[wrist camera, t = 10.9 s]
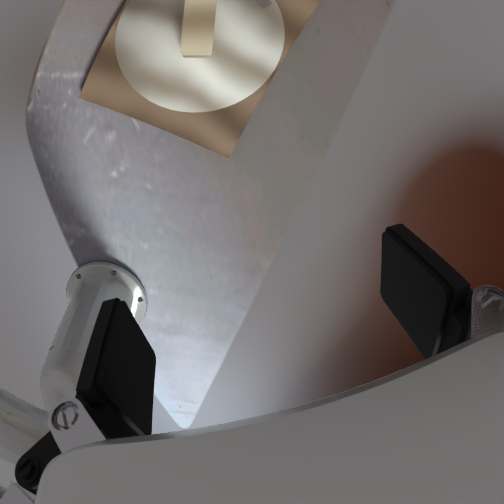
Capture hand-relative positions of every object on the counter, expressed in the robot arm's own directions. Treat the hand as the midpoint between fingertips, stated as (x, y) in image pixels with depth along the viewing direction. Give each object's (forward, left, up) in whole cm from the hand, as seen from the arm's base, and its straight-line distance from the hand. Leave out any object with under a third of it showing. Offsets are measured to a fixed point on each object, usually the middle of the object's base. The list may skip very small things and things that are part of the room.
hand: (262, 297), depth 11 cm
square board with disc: (+11, +8, -28) cm, 31 cm away
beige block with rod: (+14, +9, -26) cm, 31 cm away
